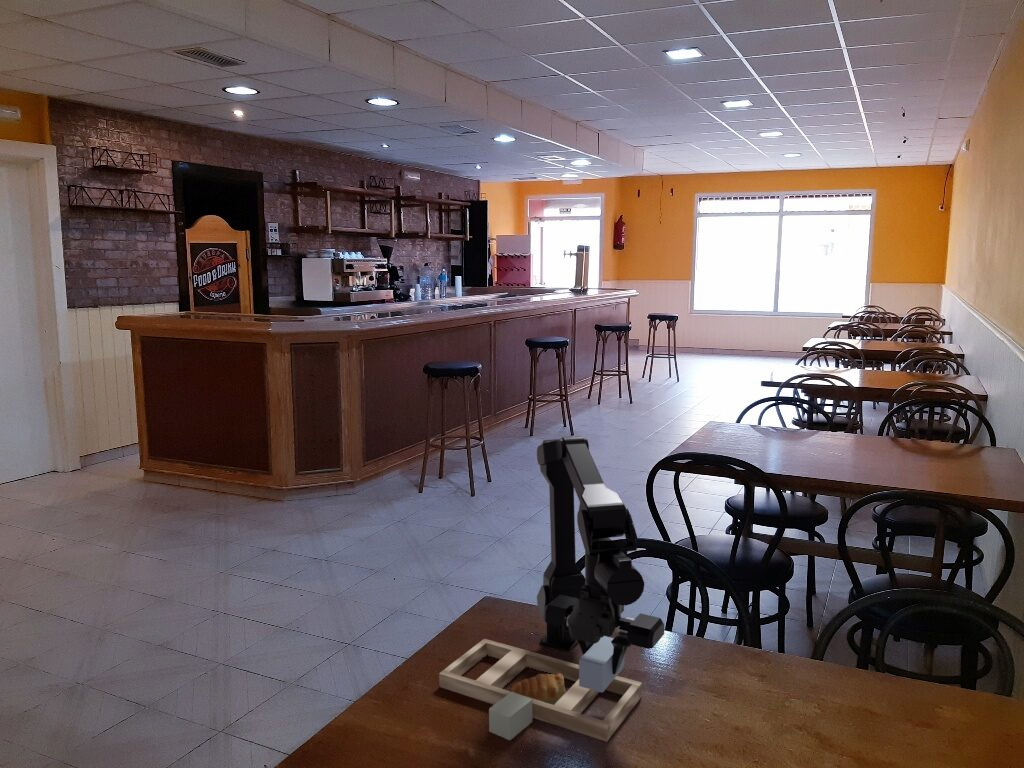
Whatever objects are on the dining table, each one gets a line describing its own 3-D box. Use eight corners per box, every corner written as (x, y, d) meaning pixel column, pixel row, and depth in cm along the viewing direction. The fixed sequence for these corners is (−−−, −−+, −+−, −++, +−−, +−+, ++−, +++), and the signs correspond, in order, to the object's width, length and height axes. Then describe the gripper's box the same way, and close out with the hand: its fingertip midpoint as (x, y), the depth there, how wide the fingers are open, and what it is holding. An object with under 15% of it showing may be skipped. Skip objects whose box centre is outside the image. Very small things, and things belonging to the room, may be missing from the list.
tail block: (512, 714, 127) (512, 691, 126) (532, 722, 125) (532, 699, 124) (489, 732, 122) (488, 708, 122) (509, 741, 120) (509, 717, 119)
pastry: (512, 711, 128) (512, 689, 128) (508, 689, 135) (508, 668, 134) (569, 707, 129) (568, 685, 128) (562, 685, 136) (562, 665, 135)
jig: (484, 650, 147) (484, 638, 147) (641, 696, 131) (642, 682, 131) (439, 686, 135) (439, 673, 135) (606, 741, 119) (606, 726, 119)
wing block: (601, 660, 131) (602, 635, 130) (624, 666, 129) (624, 640, 128) (579, 686, 123) (579, 659, 123) (602, 692, 121) (602, 665, 121)
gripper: (526, 584, 122) (527, 677, 124) (639, 611, 112) (638, 711, 115) (559, 560, 131) (559, 647, 134) (666, 583, 122) (664, 676, 124)
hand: (602, 669), depth 126 cm, fingers closed on wing block, 4 cm apart
